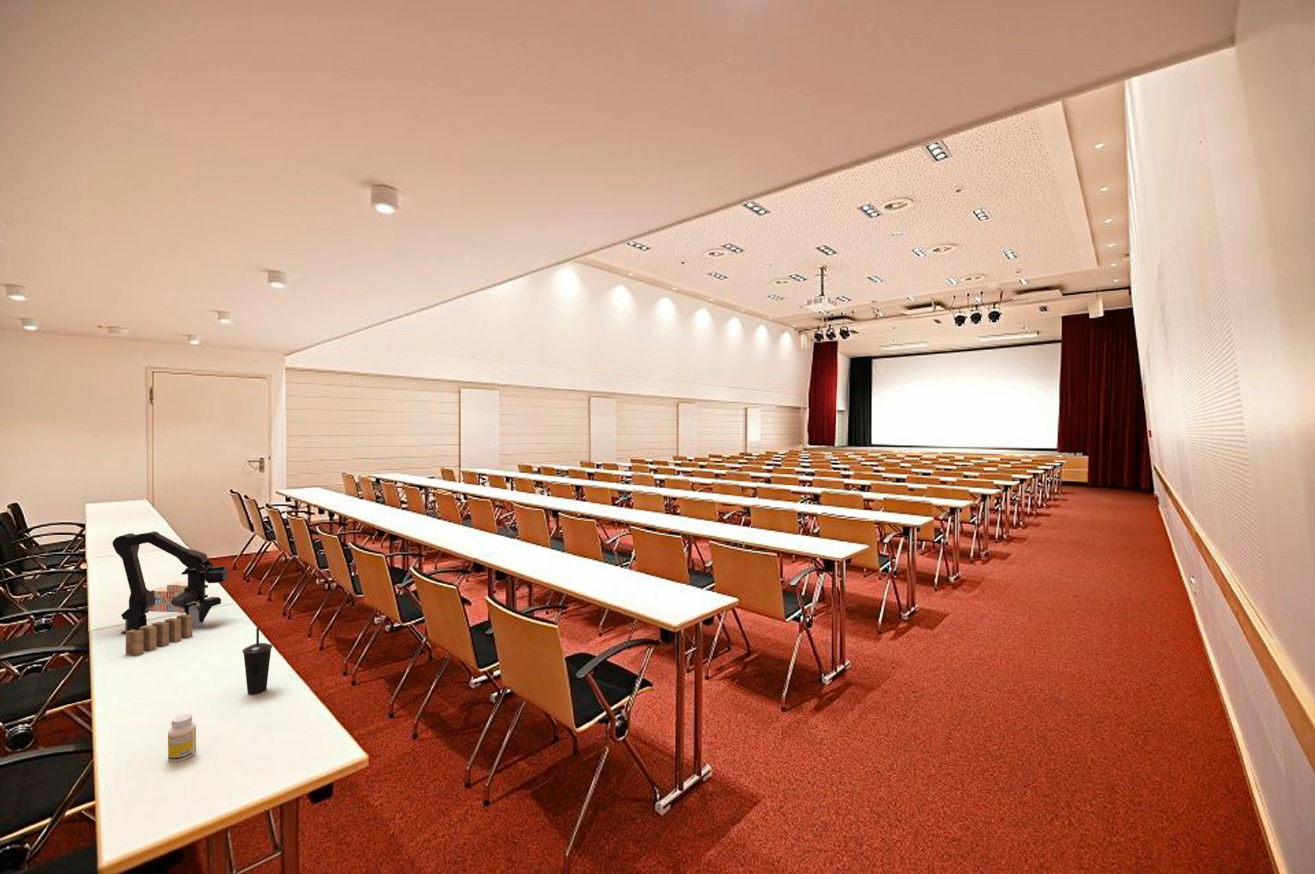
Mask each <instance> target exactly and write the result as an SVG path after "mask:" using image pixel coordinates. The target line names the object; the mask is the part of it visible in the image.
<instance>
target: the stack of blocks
mask: <svg viewBox="0 0 1315 874" xmlns="http://www.w3.org/2000/svg"><path fill="white" fill-rule="evenodd" d="M187 587H188V581H182V580H181V581H180V580H179V581H176V582H172V583H169V584H167V585H166V586H165V587H164V586H160V587H156V588H153V589H148V590H149V591H154V596H155V598H156V600H155V604H154V605H153V607H152V608H150V610H149V612H166V613H182V614H184V613H185V611H184V609H182V608H180V607H175V606H174V605H171V600H172V599H173V598H174V597H176V596H178V595H180V594H182V593H184V589H185V588H187ZM197 605H200V604H199V603H197ZM185 614H186V613H185Z"/></svg>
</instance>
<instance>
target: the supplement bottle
mask: <svg viewBox="0 0 1315 874" xmlns="http://www.w3.org/2000/svg"><path fill="white" fill-rule="evenodd" d="M170 725H171V727H170V728H169V729H168V732H167V751H168V752H167V759H168V761H169V762H173V763H176V762H181V761H185V760H187V759H190V758H191V757H193V756H194V755H195V754H196V753H197V726H196V724H195V723H194V722H193V715H192V713H184V714H180V715H177V716H175V717H173V718H172V719H171V724H170Z"/></svg>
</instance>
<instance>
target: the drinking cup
mask: <svg viewBox="0 0 1315 874" xmlns="http://www.w3.org/2000/svg"><path fill="white" fill-rule="evenodd" d="M255 631H256V634H255V635H256V637H255V638H256V640H255V641H256V643H254V644H250V645H249V646H247V647H245V648H243V649H242V654H243V658H244V659H243V660H244V668H245V669H244V670H245V682H246V689H247V694H248V695H250V696H256V695H260V694H263V693H265V692H266V691H267V686H268V677H269V671H270V662H271V661H270V659H271V652H272V649H273V645H272V644H271V643H265V642H260V627H256V630H255ZM262 692H263V693H262ZM255 694H256V695H255Z"/></svg>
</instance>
